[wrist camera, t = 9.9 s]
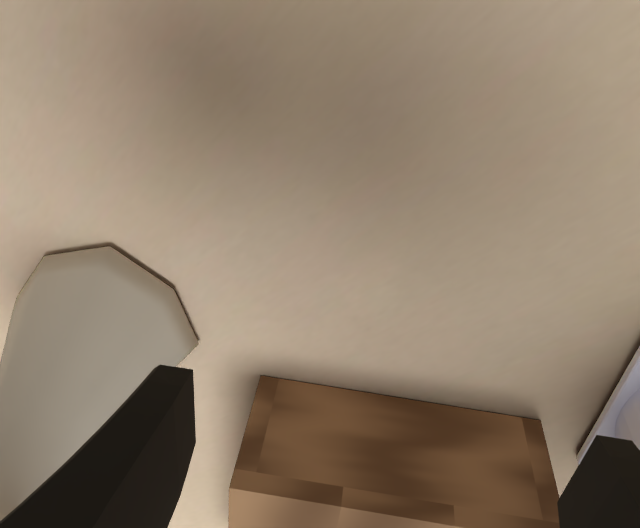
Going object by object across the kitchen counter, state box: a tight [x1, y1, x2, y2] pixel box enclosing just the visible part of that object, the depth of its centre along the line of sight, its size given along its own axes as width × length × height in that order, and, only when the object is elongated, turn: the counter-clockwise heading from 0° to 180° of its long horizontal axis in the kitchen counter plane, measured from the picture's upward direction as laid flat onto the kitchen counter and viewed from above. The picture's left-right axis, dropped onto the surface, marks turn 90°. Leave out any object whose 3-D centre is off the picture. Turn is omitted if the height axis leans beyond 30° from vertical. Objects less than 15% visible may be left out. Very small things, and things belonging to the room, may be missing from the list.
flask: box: [0, 246, 199, 521], centre depth 20 cm, size 7×7×10 cm
